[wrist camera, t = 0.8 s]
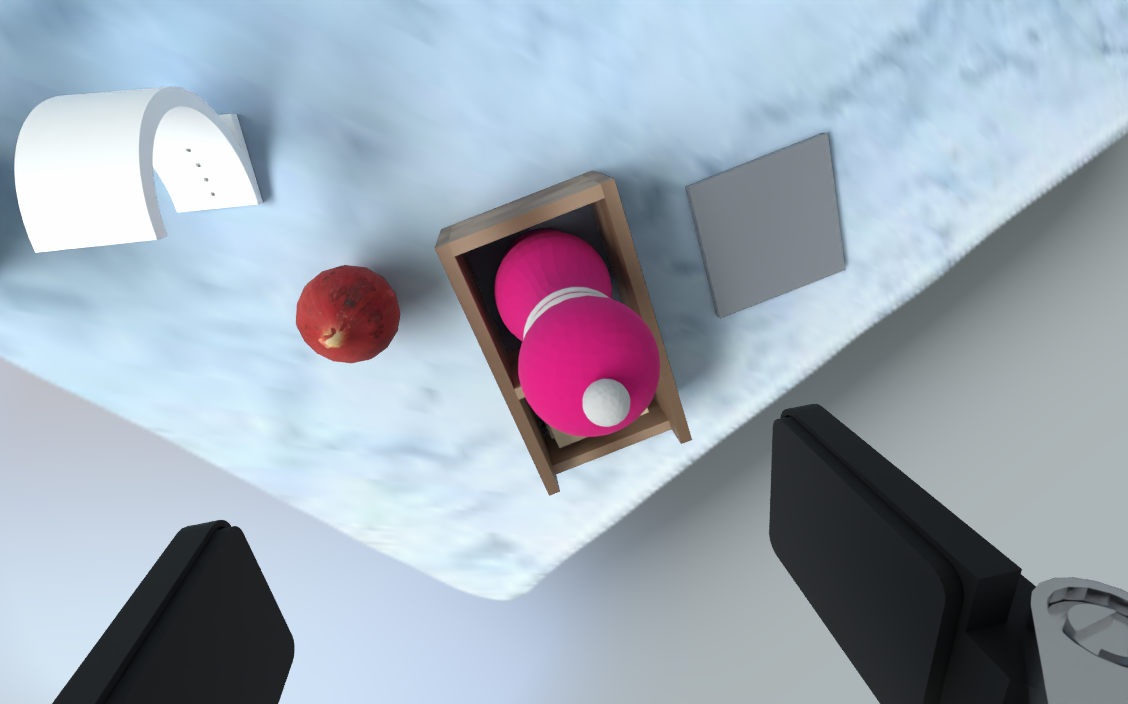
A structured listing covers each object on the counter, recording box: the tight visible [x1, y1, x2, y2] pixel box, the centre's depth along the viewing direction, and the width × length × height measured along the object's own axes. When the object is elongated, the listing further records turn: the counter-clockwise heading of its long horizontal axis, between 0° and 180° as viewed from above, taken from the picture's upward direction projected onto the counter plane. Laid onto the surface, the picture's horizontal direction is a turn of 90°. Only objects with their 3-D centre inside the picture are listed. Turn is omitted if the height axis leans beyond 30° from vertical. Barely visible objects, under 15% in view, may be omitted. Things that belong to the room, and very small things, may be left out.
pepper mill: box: [494, 229, 660, 437], centre depth 28 cm, size 7×7×20 cm
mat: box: [685, 133, 845, 319], centre depth 38 cm, size 10×10×1 cm
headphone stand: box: [14, 87, 263, 253], centre depth 26 cm, size 5×6×12 cm
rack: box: [435, 171, 692, 496], centre depth 36 cm, size 11×18×6 cm, turn 19°
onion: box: [296, 265, 400, 363], centre depth 32 cm, size 6×6×8 cm
